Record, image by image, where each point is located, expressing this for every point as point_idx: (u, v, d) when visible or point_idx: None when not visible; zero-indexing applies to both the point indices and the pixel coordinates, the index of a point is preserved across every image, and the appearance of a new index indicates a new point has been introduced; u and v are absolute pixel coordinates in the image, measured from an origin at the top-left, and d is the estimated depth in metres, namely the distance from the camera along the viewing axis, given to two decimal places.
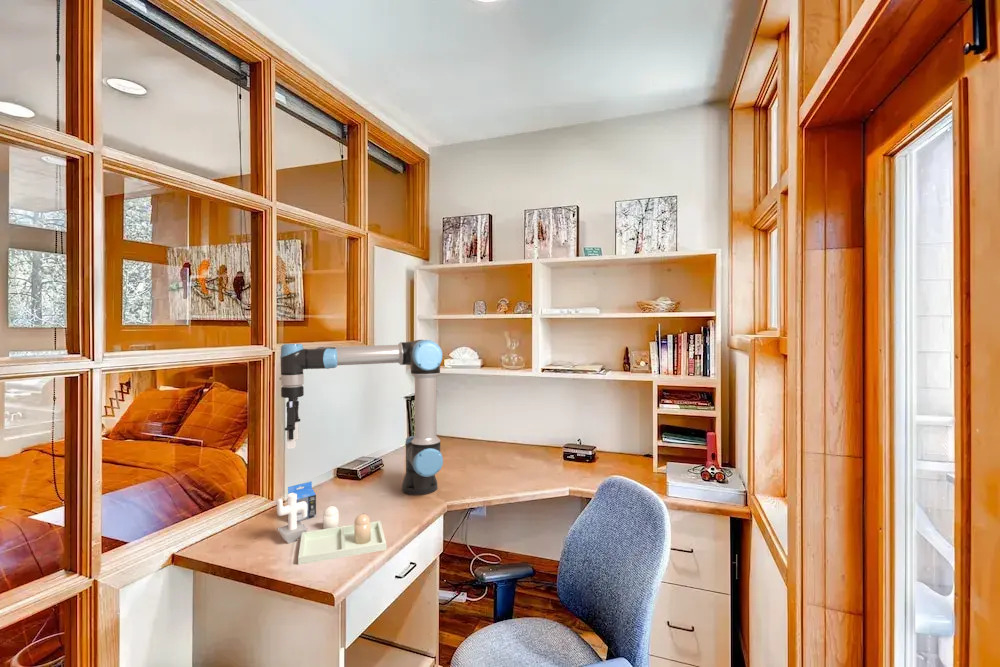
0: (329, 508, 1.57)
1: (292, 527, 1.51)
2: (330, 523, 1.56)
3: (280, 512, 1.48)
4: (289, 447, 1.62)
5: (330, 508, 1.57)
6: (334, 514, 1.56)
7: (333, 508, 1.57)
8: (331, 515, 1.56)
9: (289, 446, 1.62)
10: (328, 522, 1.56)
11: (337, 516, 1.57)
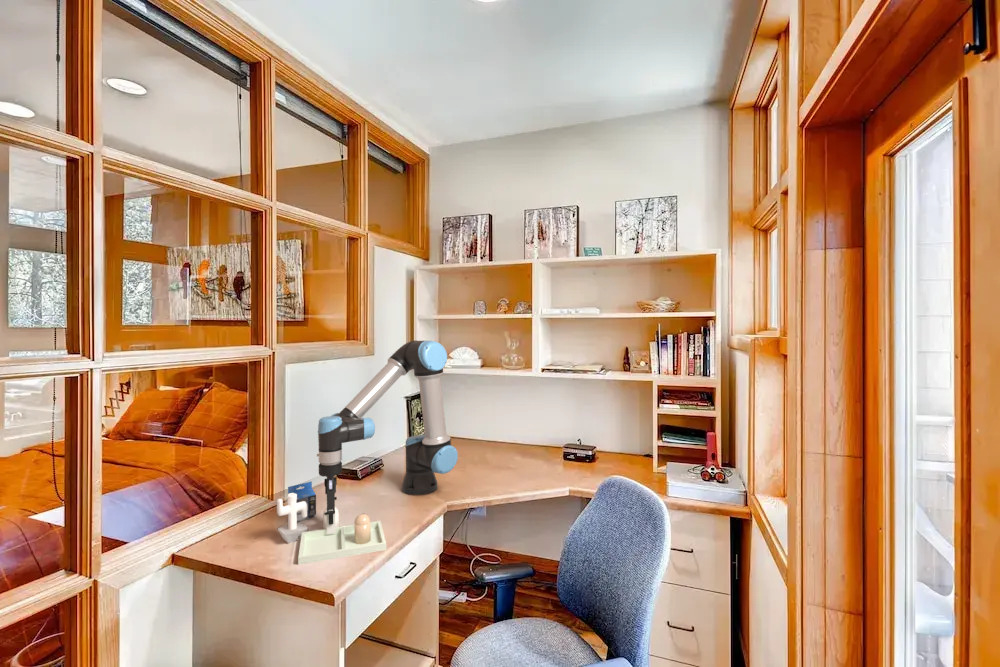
0: None
1: (292, 527, 1.51)
2: None
3: (280, 512, 1.48)
4: (329, 532, 1.52)
5: None
6: None
7: None
8: None
9: (329, 532, 1.51)
10: None
11: (337, 516, 1.57)
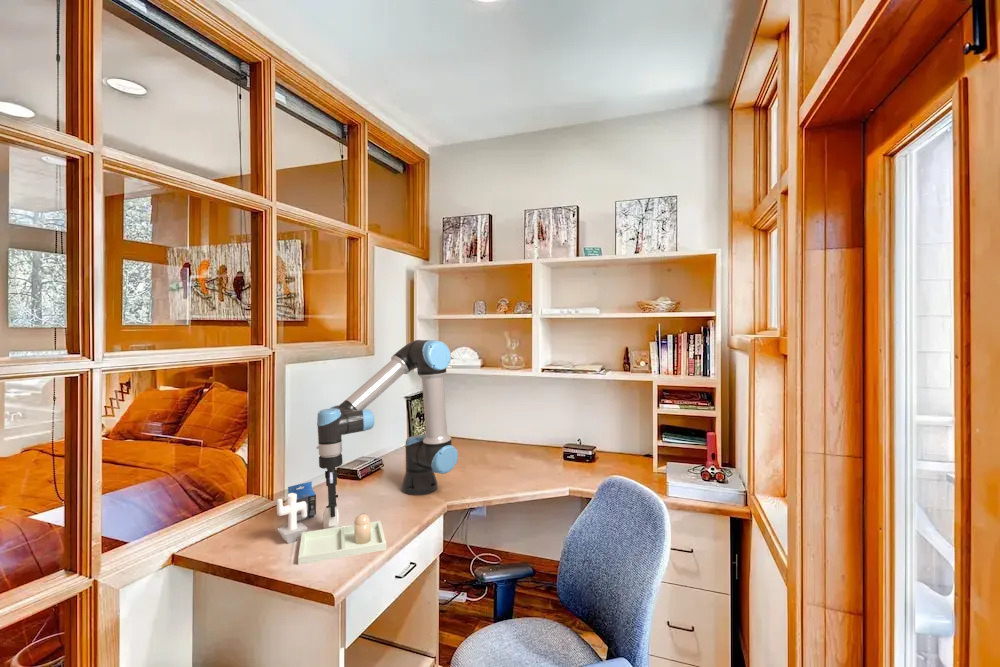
0: None
1: (292, 527, 1.51)
2: None
3: (280, 512, 1.48)
4: (331, 525, 1.54)
5: None
6: None
7: None
8: None
9: (331, 524, 1.54)
10: (328, 522, 1.56)
11: (337, 516, 1.57)
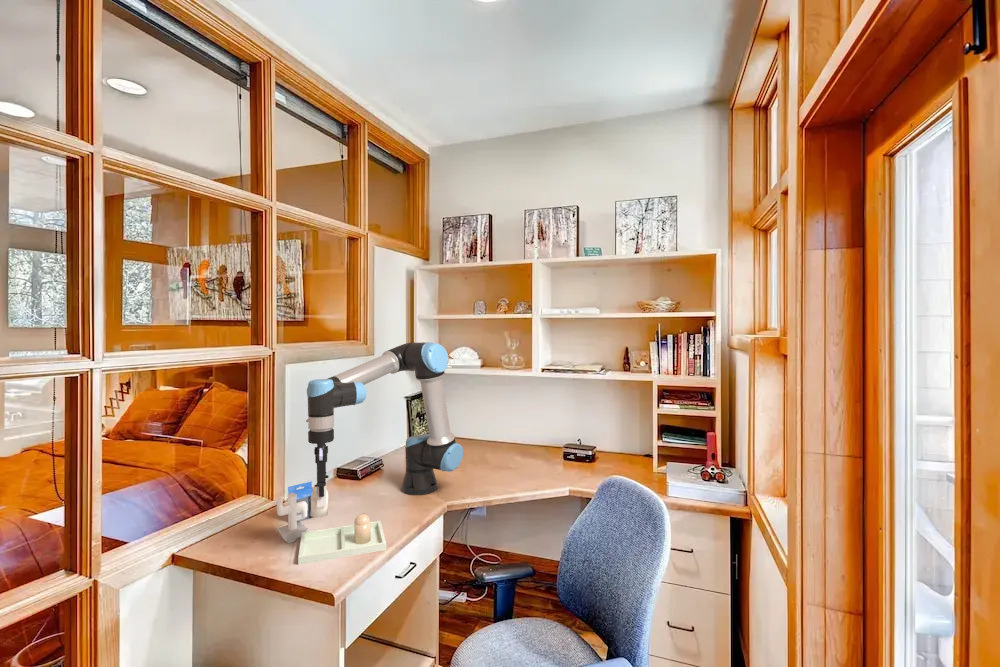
0: None
1: (292, 527, 1.51)
2: None
3: (280, 512, 1.48)
4: (319, 505, 1.41)
5: None
6: None
7: None
8: None
9: (319, 505, 1.41)
10: (316, 503, 1.41)
11: (326, 498, 1.43)
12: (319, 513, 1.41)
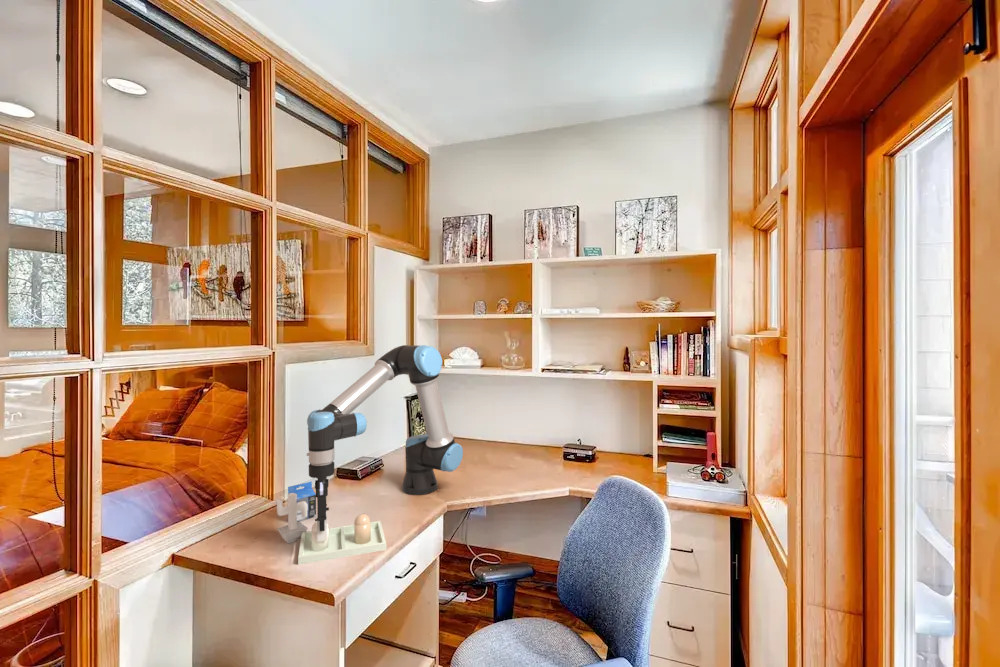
0: None
1: (292, 527, 1.51)
2: None
3: (280, 512, 1.48)
4: (320, 539, 1.41)
5: None
6: None
7: None
8: None
9: (320, 539, 1.41)
10: (316, 537, 1.41)
11: (327, 531, 1.43)
12: (319, 547, 1.41)
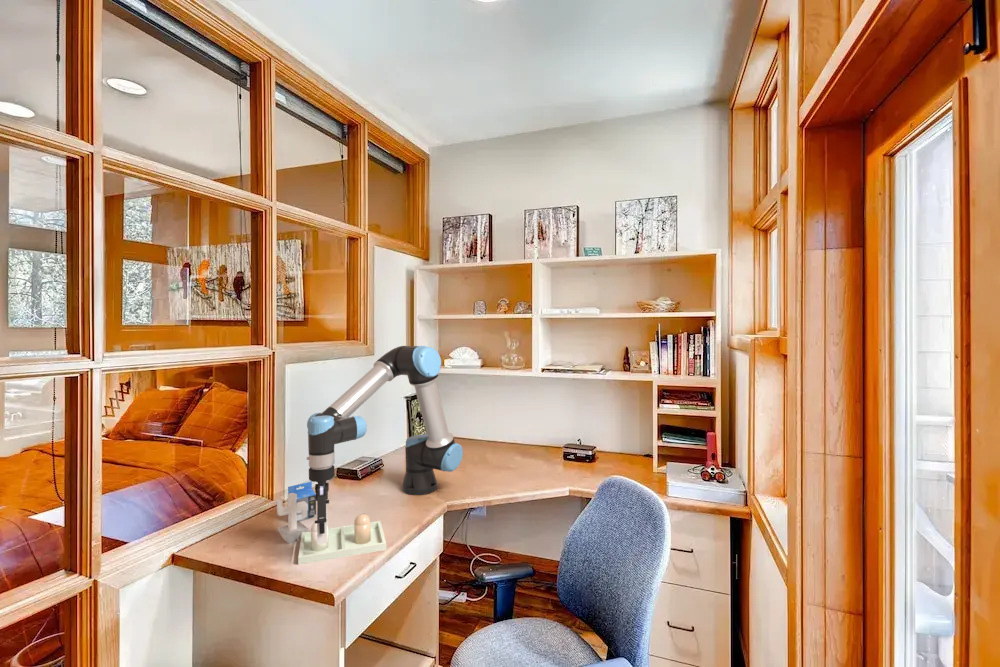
0: None
1: (292, 527, 1.51)
2: None
3: (280, 512, 1.48)
4: (319, 542, 1.37)
5: None
6: None
7: None
8: None
9: (320, 542, 1.37)
10: (316, 538, 1.41)
11: None
12: (319, 547, 1.41)
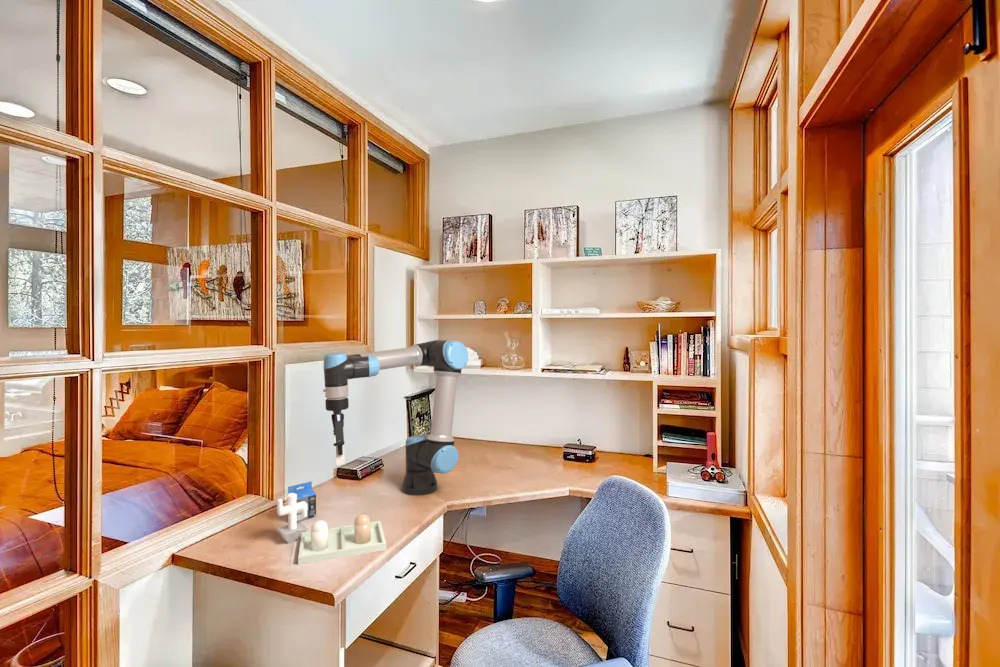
0: (317, 523, 1.43)
1: (292, 527, 1.51)
2: (319, 539, 1.41)
3: (280, 512, 1.48)
4: (338, 463, 1.53)
5: (318, 523, 1.43)
6: (323, 529, 1.42)
7: (322, 523, 1.43)
8: (319, 531, 1.41)
9: (338, 462, 1.53)
10: (316, 538, 1.41)
11: (326, 531, 1.43)
12: (319, 547, 1.41)
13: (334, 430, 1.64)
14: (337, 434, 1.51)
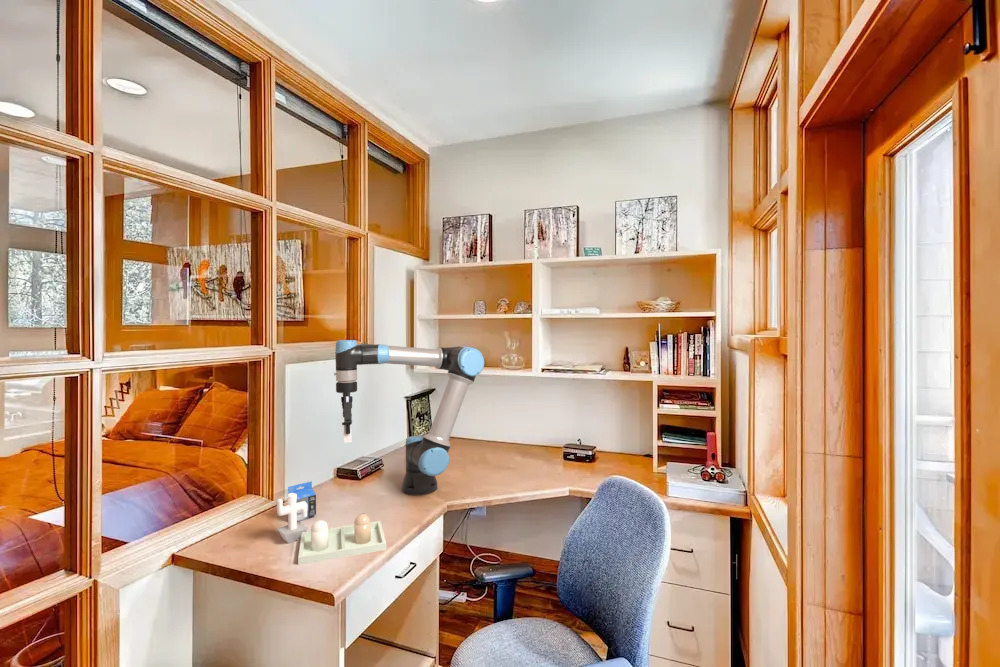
0: (317, 523, 1.43)
1: (292, 527, 1.51)
2: (319, 539, 1.41)
3: (280, 512, 1.48)
4: (346, 441, 1.64)
5: (318, 523, 1.43)
6: (323, 529, 1.42)
7: (322, 523, 1.43)
8: (319, 531, 1.41)
9: (346, 441, 1.64)
10: (316, 538, 1.41)
11: (326, 531, 1.43)
12: (319, 547, 1.41)
13: (343, 412, 1.76)
14: (345, 414, 1.63)
